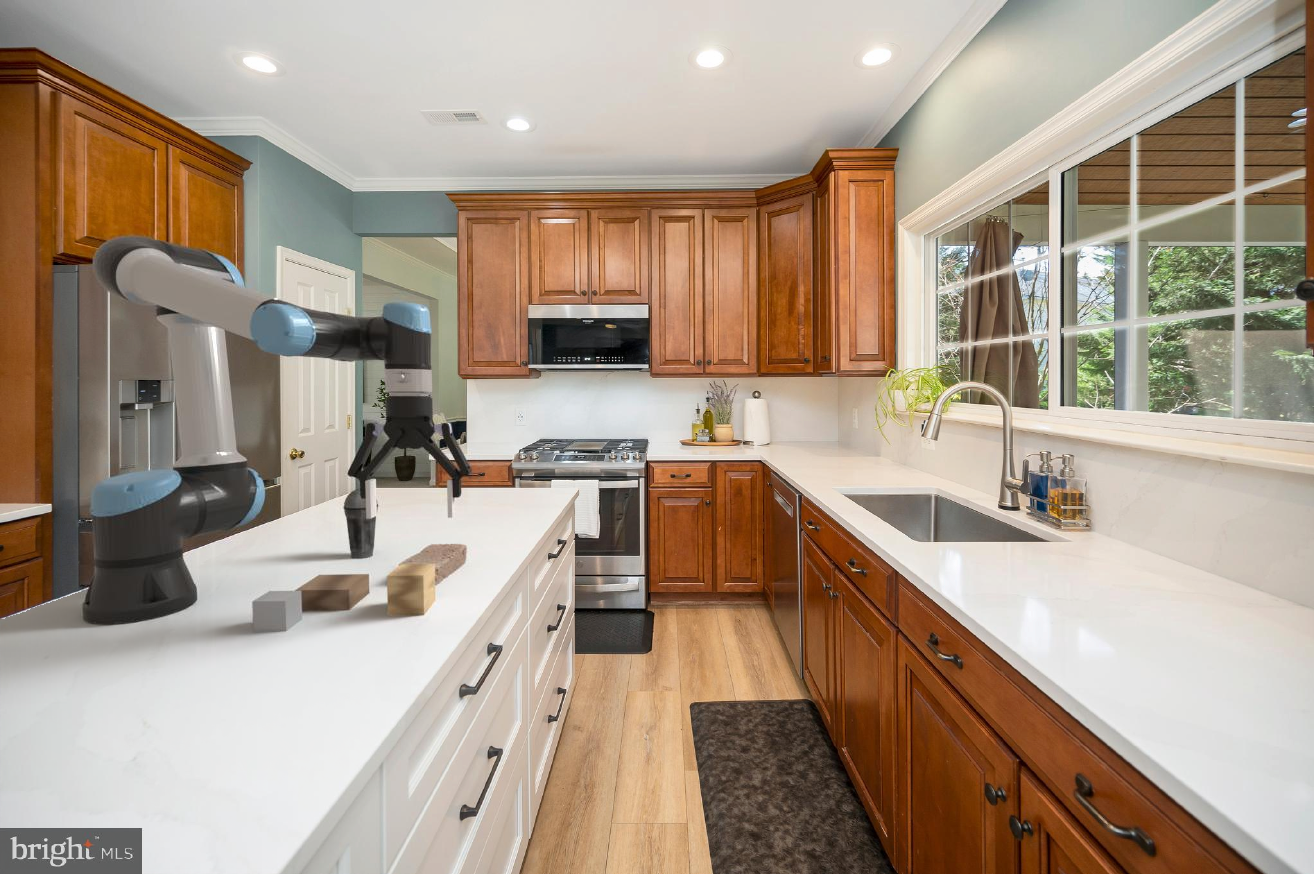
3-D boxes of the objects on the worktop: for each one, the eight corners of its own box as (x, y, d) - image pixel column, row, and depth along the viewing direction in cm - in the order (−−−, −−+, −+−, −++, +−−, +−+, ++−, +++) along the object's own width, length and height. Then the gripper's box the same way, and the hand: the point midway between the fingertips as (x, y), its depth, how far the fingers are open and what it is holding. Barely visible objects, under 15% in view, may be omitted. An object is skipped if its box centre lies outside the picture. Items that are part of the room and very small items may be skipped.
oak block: (387, 615, 103) (386, 575, 103) (401, 601, 110) (400, 564, 110) (423, 615, 104) (423, 575, 103) (435, 601, 111) (434, 563, 110)
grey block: (253, 632, 96) (252, 601, 95) (270, 620, 101) (269, 590, 100) (286, 631, 96) (285, 600, 96) (302, 619, 101) (301, 590, 101)
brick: (436, 587, 119) (436, 564, 119) (395, 586, 120) (395, 562, 119) (467, 564, 136) (467, 543, 135) (431, 563, 136) (431, 542, 136)
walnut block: (295, 612, 105) (294, 590, 105) (319, 595, 114) (319, 574, 113) (349, 611, 106) (348, 589, 105) (369, 594, 115) (368, 573, 114)
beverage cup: (337, 559, 137) (335, 471, 135) (358, 550, 144) (356, 467, 143) (366, 560, 136) (364, 472, 134) (386, 552, 143) (384, 468, 141)
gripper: (323, 394, 99) (327, 522, 101) (478, 395, 102) (480, 520, 103) (343, 394, 107) (346, 513, 108) (487, 395, 109) (488, 511, 111)
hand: (412, 516), depth 106 cm, fingers open, 13 cm apart
